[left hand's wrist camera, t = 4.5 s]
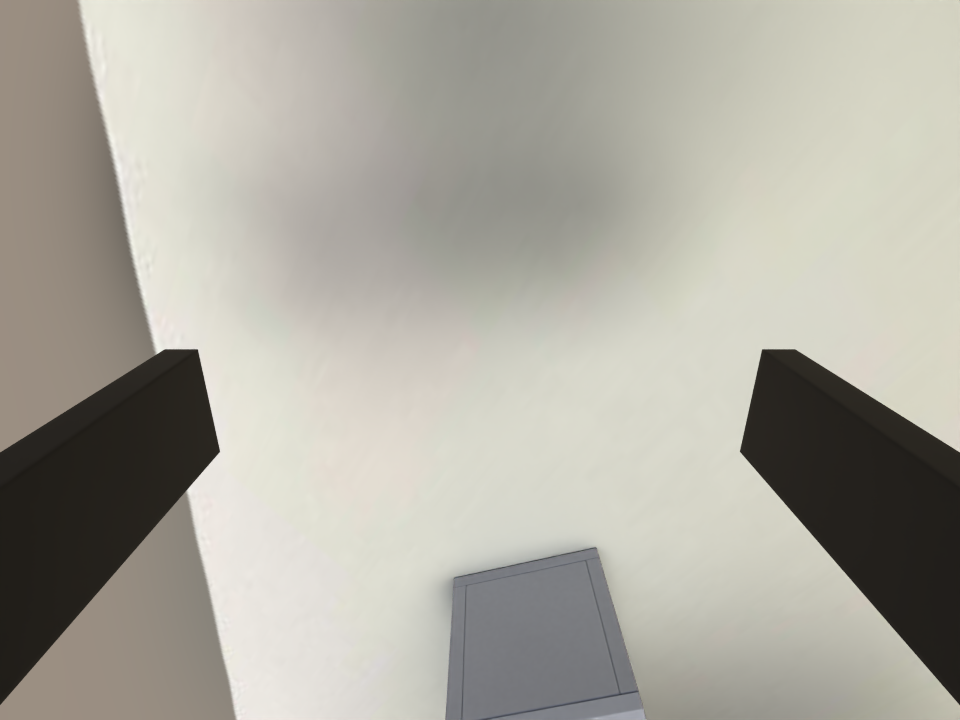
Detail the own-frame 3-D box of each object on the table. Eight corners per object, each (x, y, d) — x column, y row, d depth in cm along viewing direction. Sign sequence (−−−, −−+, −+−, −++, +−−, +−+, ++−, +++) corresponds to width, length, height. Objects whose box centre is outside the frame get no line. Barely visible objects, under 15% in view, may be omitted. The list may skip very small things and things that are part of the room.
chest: (629, 685, 39) (675, 846, 30) (504, 708, 40) (511, 871, 31) (596, 547, 34) (638, 690, 25) (453, 577, 35) (444, 725, 26)
